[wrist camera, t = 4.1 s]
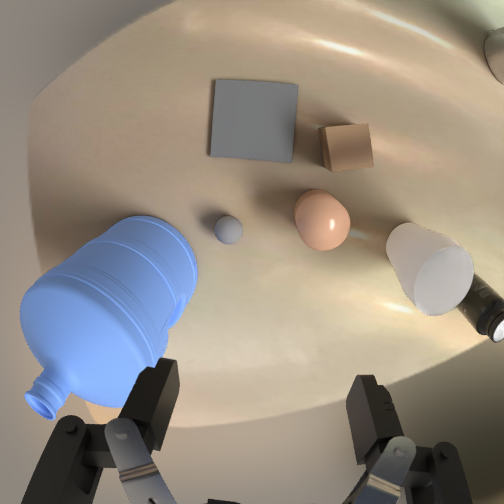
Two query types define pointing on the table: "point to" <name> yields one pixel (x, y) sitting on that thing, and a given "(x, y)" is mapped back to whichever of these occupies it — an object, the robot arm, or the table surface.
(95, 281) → the water jug
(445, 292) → the cup
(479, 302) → the supplement bottle
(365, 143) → the walnut block
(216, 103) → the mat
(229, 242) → the grey ball
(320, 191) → the peach rounded capsule
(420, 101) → the table surface
